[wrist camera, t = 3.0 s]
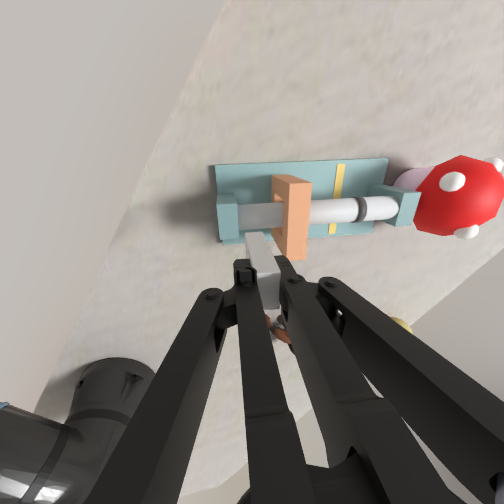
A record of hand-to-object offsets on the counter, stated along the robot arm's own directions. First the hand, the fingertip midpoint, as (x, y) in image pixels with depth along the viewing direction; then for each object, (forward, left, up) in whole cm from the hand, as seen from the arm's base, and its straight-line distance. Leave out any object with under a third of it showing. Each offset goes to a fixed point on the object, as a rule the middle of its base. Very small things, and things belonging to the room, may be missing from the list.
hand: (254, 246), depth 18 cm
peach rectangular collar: (+6, 0, -14) cm, 15 cm away
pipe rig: (+10, 0, -16) cm, 19 cm away
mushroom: (+29, +1, -17) cm, 33 cm away
